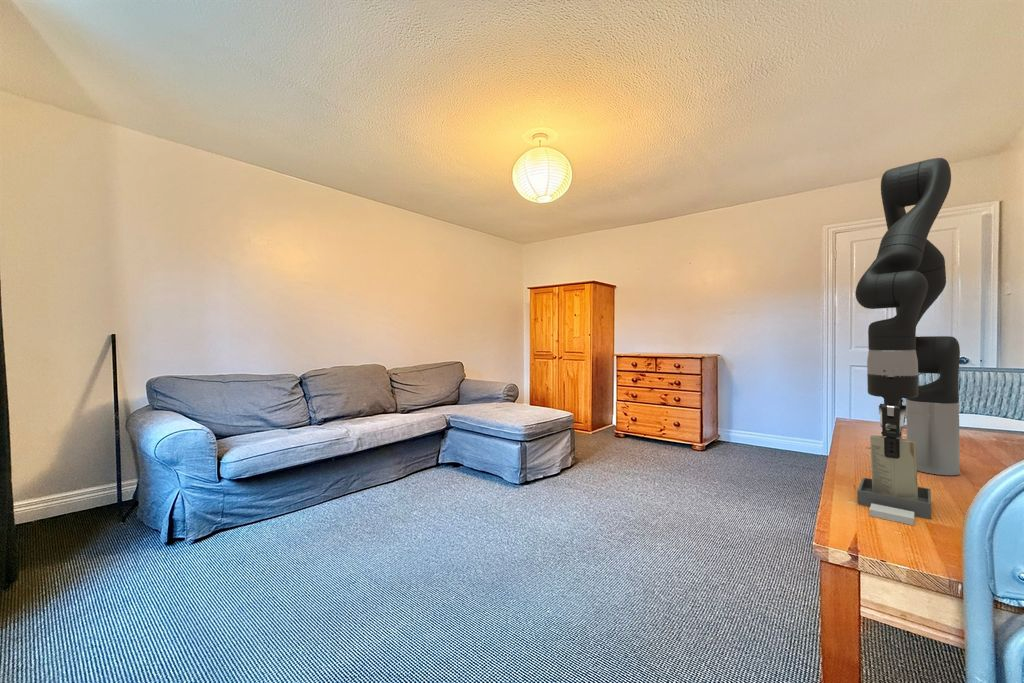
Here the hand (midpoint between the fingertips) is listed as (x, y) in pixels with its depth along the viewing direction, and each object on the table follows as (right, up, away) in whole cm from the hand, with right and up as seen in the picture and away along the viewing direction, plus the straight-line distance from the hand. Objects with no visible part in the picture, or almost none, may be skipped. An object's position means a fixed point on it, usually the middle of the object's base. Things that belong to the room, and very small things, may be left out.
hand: (893, 452), depth 83 cm
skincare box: (0, -10, 0) cm, 10 cm away
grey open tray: (-2, -10, -2) cm, 11 cm away
